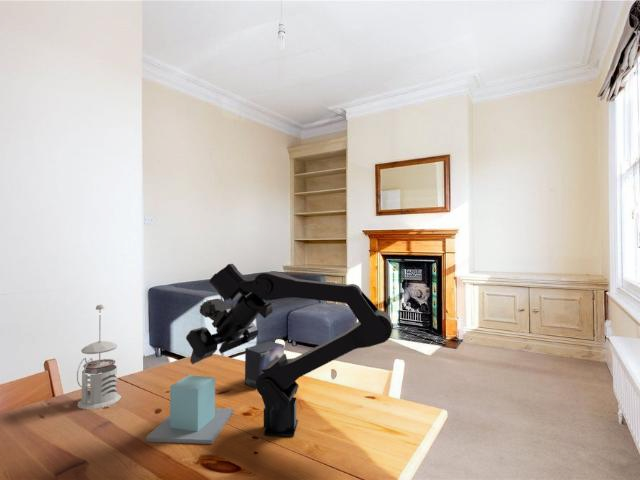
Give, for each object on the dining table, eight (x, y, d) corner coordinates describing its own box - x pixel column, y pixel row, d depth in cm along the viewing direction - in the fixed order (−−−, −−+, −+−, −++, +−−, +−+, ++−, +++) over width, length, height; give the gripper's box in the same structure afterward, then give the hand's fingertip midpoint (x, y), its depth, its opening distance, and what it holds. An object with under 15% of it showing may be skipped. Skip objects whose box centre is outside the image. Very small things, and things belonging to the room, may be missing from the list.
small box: (259, 389, 101) (259, 352, 101) (243, 384, 105) (243, 348, 105) (285, 378, 109) (285, 343, 109) (269, 374, 113) (269, 340, 113)
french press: (129, 393, 98) (129, 301, 99) (98, 413, 87) (99, 309, 87) (95, 392, 99) (96, 301, 100) (61, 411, 88) (61, 308, 88)
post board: (233, 412, 87) (233, 394, 87) (211, 444, 73) (212, 422, 73) (177, 410, 88) (177, 392, 88) (145, 441, 74) (145, 420, 74)
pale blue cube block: (214, 416, 83) (214, 377, 83) (197, 431, 77) (197, 389, 77) (189, 413, 85) (189, 374, 85) (170, 427, 78) (170, 385, 79)
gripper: (248, 284, 93) (216, 323, 98) (192, 293, 76) (157, 339, 81) (274, 317, 89) (239, 356, 94) (220, 334, 73) (181, 380, 78)
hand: (206, 356), depth 87 cm, fingers open, 9 cm apart
